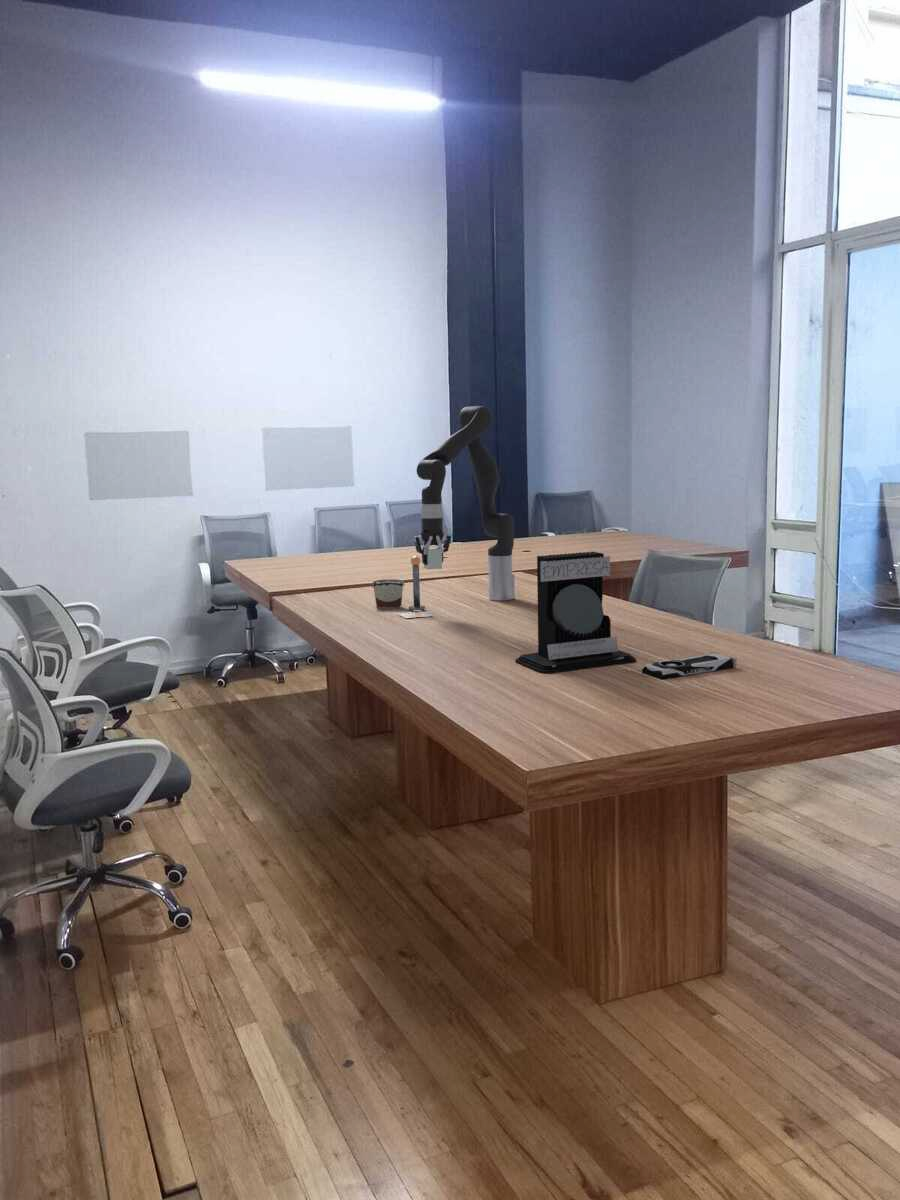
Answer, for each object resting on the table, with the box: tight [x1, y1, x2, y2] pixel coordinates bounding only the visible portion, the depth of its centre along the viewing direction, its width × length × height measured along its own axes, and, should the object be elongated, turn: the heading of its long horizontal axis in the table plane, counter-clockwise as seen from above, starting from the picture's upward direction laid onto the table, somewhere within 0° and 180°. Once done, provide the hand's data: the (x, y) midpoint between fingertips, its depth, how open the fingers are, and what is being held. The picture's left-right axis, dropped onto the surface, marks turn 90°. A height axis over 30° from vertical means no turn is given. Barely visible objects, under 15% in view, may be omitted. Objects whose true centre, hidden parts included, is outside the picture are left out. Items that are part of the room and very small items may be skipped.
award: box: [514, 551, 637, 674], centre depth 282 cm, size 30×19×30 cm, turn 114°
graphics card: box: [641, 652, 737, 681], centre depth 271 cm, size 10×3×25 cm
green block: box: [423, 547, 443, 570], centre depth 362 cm, size 5×5×7 cm
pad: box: [397, 611, 434, 619], centre depth 362 cm, size 10×10×1 cm
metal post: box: [408, 555, 426, 611], centre depth 373 cm, size 6×6×20 cm
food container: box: [371, 578, 405, 608], centre depth 383 cm, size 12×6×10 cm, turn 84°
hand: (432, 564), depth 362 cm, fingers closed on green block, 5 cm apart
